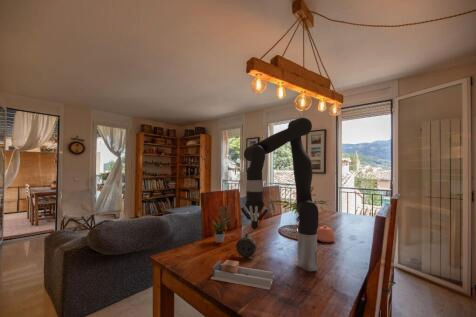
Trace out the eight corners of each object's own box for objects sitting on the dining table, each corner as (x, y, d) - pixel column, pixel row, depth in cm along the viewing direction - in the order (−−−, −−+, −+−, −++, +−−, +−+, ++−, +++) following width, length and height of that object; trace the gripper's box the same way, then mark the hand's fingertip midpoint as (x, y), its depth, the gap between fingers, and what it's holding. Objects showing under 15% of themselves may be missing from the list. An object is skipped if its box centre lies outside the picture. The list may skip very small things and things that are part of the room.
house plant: (232, 238, 153) (232, 215, 154) (232, 245, 139) (232, 219, 140) (211, 238, 153) (211, 215, 153) (209, 245, 139) (209, 219, 139)
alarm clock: (256, 257, 121) (256, 228, 121) (254, 261, 116) (255, 230, 116) (237, 255, 124) (237, 226, 124) (235, 259, 118) (235, 229, 119)
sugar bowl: (338, 244, 145) (337, 228, 145) (316, 243, 145) (316, 228, 145) (330, 238, 157) (330, 223, 157) (310, 237, 157) (310, 223, 158)
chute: (274, 277, 99) (274, 266, 99) (269, 292, 87) (269, 279, 88) (221, 269, 107) (221, 258, 107) (210, 280, 96) (210, 269, 96)
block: (238, 272, 100) (239, 261, 101) (235, 277, 96) (235, 266, 96) (226, 270, 102) (226, 259, 103) (222, 275, 98) (222, 264, 98)
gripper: (270, 189, 100) (271, 228, 99) (242, 189, 104) (242, 226, 103) (267, 191, 93) (268, 232, 92) (237, 190, 97) (238, 230, 96)
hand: (254, 229), depth 98 cm, fingers closed
